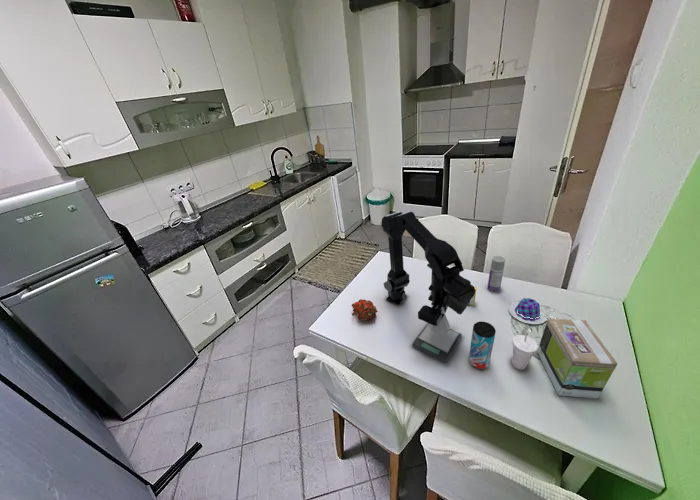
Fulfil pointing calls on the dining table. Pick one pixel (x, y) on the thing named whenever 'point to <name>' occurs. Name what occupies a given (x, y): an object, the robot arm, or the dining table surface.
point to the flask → (440, 325)
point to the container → (496, 274)
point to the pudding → (527, 311)
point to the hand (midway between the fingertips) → (439, 320)
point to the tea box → (575, 358)
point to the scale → (437, 343)
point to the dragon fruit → (364, 310)
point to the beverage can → (481, 345)
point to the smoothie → (523, 350)
